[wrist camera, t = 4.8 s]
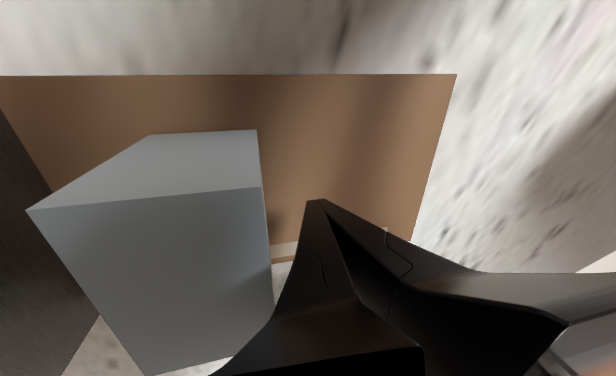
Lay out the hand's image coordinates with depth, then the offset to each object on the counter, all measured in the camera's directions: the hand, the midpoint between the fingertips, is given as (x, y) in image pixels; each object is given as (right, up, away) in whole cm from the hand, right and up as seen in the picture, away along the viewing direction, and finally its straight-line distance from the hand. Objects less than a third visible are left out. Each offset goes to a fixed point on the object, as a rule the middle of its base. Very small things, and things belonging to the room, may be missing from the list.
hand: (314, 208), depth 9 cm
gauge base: (-4, +1, +2) cm, 4 cm away
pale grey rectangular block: (-4, 0, +1) cm, 5 cm away
